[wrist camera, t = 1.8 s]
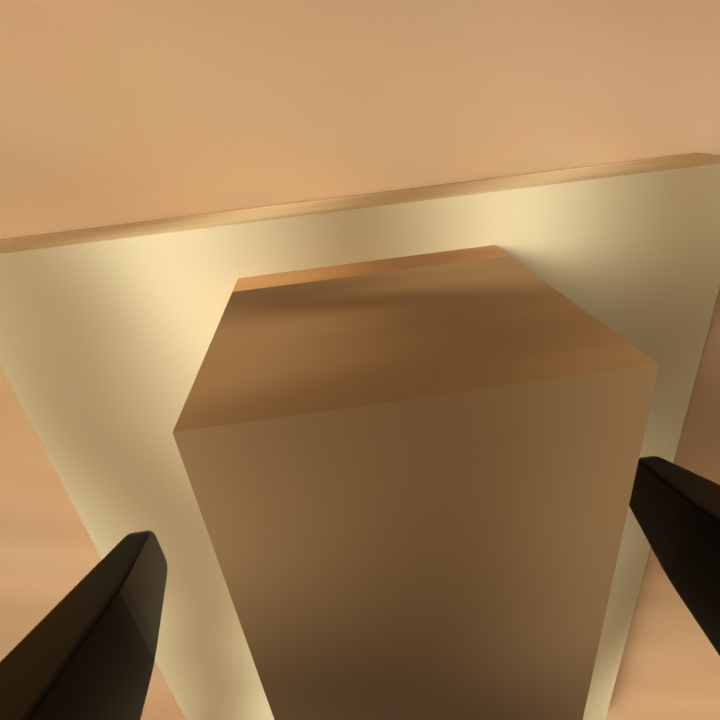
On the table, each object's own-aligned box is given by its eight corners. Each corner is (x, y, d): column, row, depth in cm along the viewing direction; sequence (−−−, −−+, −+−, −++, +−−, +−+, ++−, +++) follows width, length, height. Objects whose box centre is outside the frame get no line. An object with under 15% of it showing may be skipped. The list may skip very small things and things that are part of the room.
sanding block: (304, 562, 13) (301, 797, 8) (238, 278, 9) (172, 433, 5) (485, 534, 13) (576, 750, 9) (493, 244, 9) (659, 363, 5)
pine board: (235, 758, 20) (230, 804, 19) (-7, 240, 10) (-56, 261, 8) (581, 700, 21) (600, 742, 19) (696, 152, 10) (754, 159, 9)
